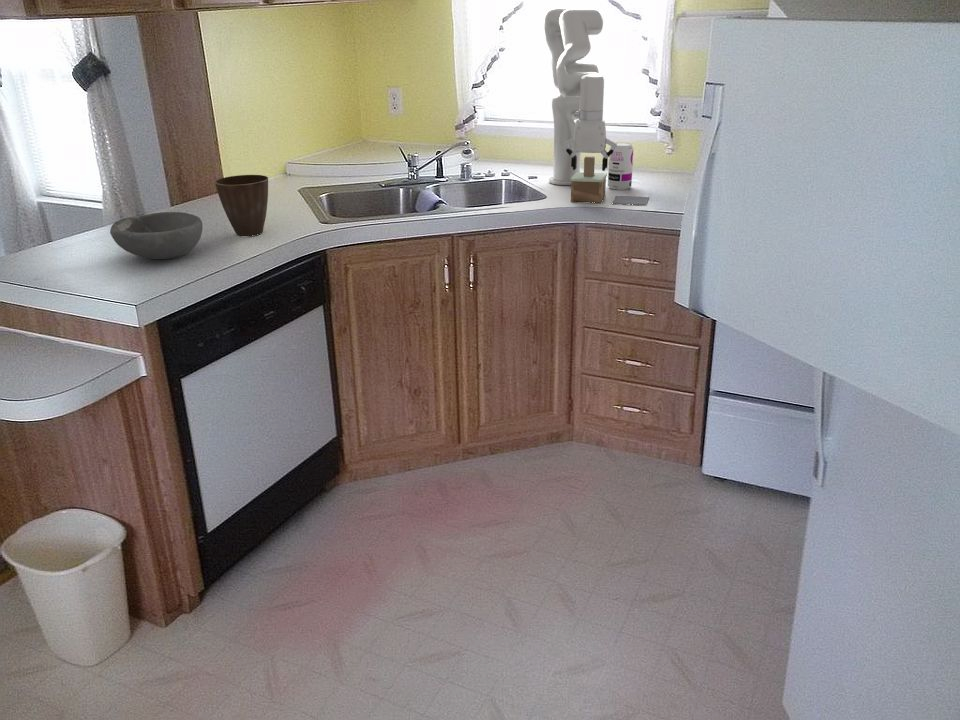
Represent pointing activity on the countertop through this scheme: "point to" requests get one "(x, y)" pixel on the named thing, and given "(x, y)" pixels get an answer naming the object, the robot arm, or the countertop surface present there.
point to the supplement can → (620, 167)
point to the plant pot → (244, 202)
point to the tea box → (588, 191)
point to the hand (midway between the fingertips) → (589, 169)
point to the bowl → (158, 234)
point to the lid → (589, 172)
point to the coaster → (630, 200)
